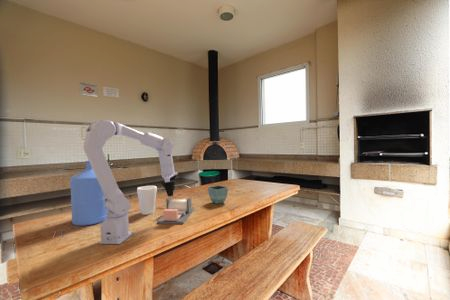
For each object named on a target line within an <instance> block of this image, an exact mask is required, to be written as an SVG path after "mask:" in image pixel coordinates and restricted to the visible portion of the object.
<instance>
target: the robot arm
mask: <svg viewBox="0 0 450 300" xmlns="http://www.w3.org/2000/svg"><path fill="white" fill-rule="evenodd" d="M116 135H121V136H123V137H127V138H131V139H134V140H138V141H139V142H140V144H141V145H143V146H146V147H149V148H152V149H155V150H156V152H157V151H158V152H157V153H158V159H159V165H160V170H161V171H160V172H161V177H162V179H164V180H162V181H161V183H160V184H161V185H162V187H163V188H164V190H165V192H166V195H167V196H168V197H167V198H169V197H170V196H171V197H173V196H174V191H175V189H176V188H175V183H176V178H177V176H178V175H179V174H178V172H177V171H176V172H175V166H174V159H173V147H174V143H173V142H172V140H171V139H170V138H167V137H163V136H162V135H157V134H155V133H153V131H151V130H149V131H144V132H141V131H138V130H137V129H134V128H131V127H129V126H127V125H124V124H122V123H120V122H117V121H112V120H110V119H106V118H105V119H101V120H99V121H93V122H92V123H90V125H89V126H88V127H87V128H86V129H85V136H84V137H85V138H84V143H83V146H82V147H83V151H84V153H85V155H86V157H87V161H89V162H90V164H91V166H92V169H93V171H94V173H95V175H96V177H97V180H98V182H99V184H100V186H101V188H102V190H103V193H104V194H103V197H104V200H105V202H104V206H105V208H106V209H107V210H108V212H107V217H106V219H105V221H103V222H101V225H100V241H99V242H98V244H99V245H100V244H101V245H103V244H104V245H121V244H122V243H123V242H124V241H125V240H127V239H128V238H130V237H131V236H132V235H133V234H134V233H135V232H134V231H130V229H129V227H130V226H129V225H130V224H129V211H130V209H131V202H130V200H129V199H128V198H126V196H125V194H124V193H123V192H122V191H121V189H120V188H119V186H118V184H117V180H116V179H115V177H114V174H113V172H112V169H111V168H110V167H111V166H110V165H109V162H108V160H107V157H106V156H105V154H104V151H103V148H104V146H105V145H106V143H107V142H108V141H109V140H110V139H111V138H112V137H113V136H116Z"/></svg>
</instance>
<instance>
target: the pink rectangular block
mask: <svg viewBox="0 0 450 300" xmlns="http://www.w3.org/2000/svg"><path fill="white" fill-rule="evenodd" d="M162 213H163V214H162V216H163V221H177V220H178V219H179V218H180V217H181V215H182V214H183V213H178V209H167V208H165V209H163V210H162Z"/></svg>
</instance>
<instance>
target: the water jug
mask: <svg viewBox="0 0 450 300" xmlns="http://www.w3.org/2000/svg"><path fill="white" fill-rule="evenodd" d="M85 163H86V164H85V167H86V168H85V170H83V171H81V172H79V173H76V174H75V175H73V176H71V177H70V179H69V180H70V181H69V187H70V206H71V224H72V225H74V226H77V227H79V226H80V227H81V226H92V225H96V224H99V223H103V222H104V221H105V219H106V217H107V212H108V210H107V209H106V208H105V206H104V202H105V200H104V197H103V194H104V193H103V190H102V188H101V186H100V184H99V182H98V180H97V177H96V175H95V173H94V171H93V169H92V166H91V164H90V162H89V160H85Z"/></svg>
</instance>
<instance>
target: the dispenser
mask: <svg viewBox="0 0 450 300" xmlns="http://www.w3.org/2000/svg"><path fill="white" fill-rule="evenodd" d="M165 201H166V209H178V213H183V214H182V215H181V217H180V218H179V219H178V220H177V221H163V215H161V217H160V218H159V219H158V220H157V221H156V224H163V225H164V224H165V225H166V224H170V225H171V224H172V225H174V224H175V225H184V224H185V223H186V221H187V220H188V219H189V217H190V216H191V214H193V212H194V210H195V207H192V196H189V197H187V199H172V196H169V197H167V198H166V199H165Z"/></svg>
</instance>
